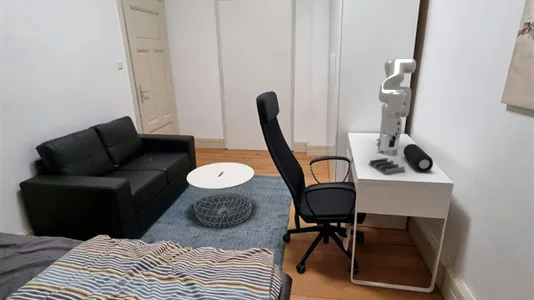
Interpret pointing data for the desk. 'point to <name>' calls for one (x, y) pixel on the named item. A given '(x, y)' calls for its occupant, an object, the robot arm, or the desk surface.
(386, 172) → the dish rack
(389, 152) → the light bulb box
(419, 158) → the portable speaker
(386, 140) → the white block
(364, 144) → the desk surface
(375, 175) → the desk surface
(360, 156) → the desk surface
